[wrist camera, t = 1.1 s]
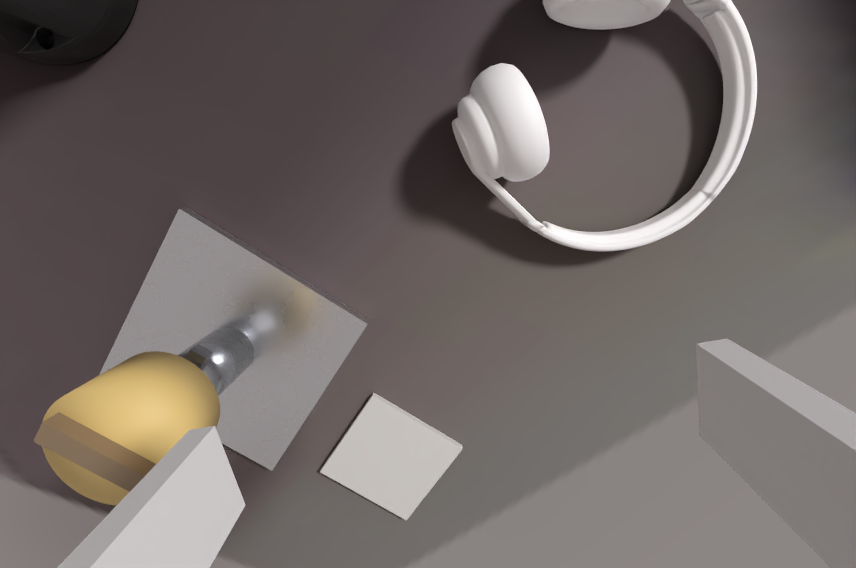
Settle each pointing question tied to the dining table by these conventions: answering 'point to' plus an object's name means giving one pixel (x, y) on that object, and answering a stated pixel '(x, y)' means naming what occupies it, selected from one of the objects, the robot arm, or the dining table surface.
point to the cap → (125, 423)
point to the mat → (390, 457)
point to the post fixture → (240, 332)
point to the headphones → (528, 139)
